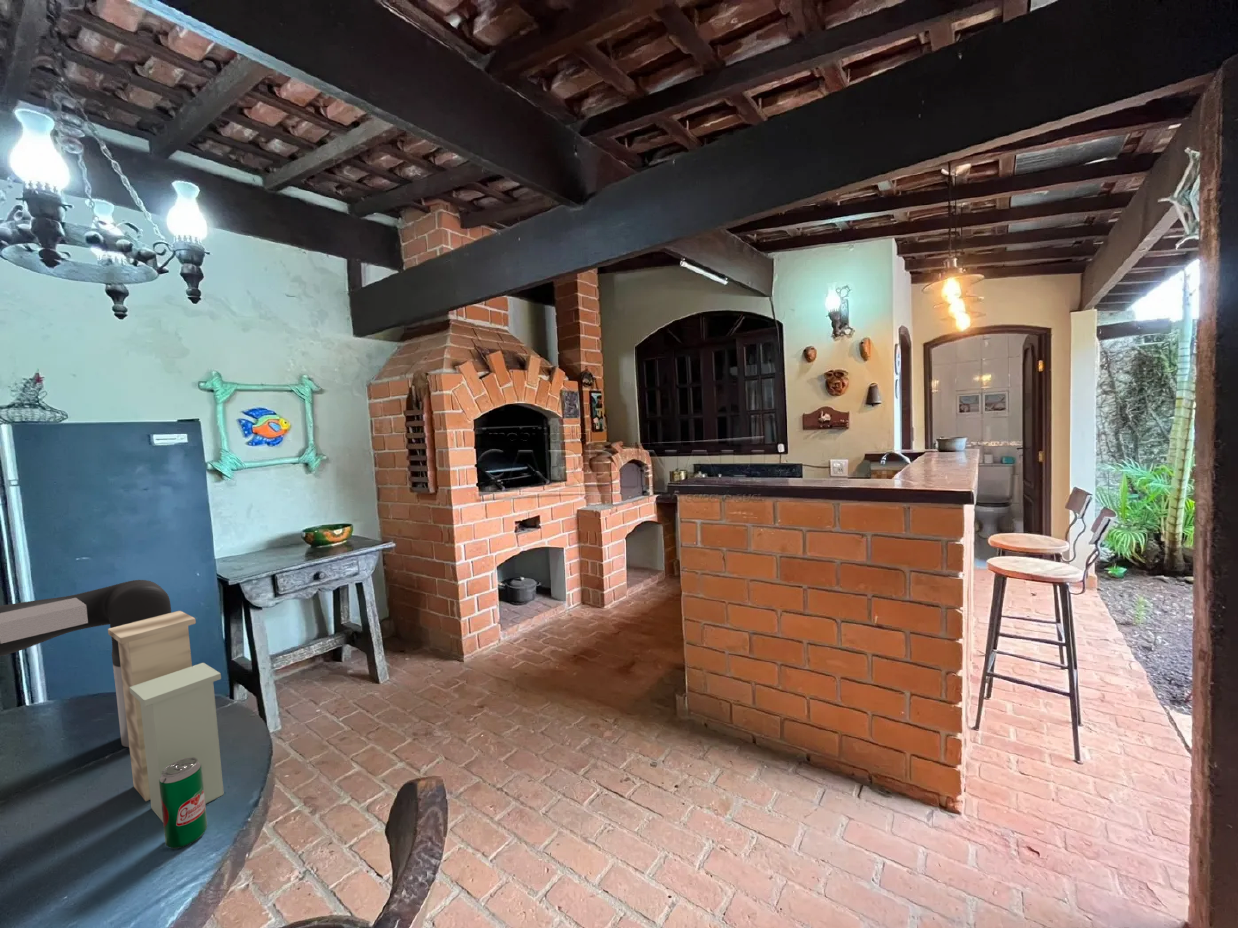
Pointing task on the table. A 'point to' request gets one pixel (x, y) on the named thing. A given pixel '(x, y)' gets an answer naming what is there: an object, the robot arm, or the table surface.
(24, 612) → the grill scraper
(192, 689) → the low stand
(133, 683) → the high stand
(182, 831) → the soda can
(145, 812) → the table surface
